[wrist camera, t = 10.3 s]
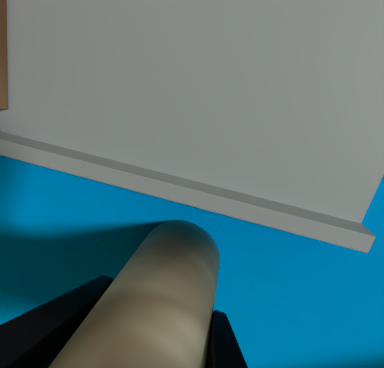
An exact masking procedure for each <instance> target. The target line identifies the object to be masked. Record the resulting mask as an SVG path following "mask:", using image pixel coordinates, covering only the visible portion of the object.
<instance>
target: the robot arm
mask: <svg viewBox="0 0 384 368" xmlns="http://www.w3.org/2000/svg"><path fill="white" fill-rule="evenodd" d="M113 281H114V280H113V278H110V277H107V276H100V277H98V278H96V279H94V280H92V281H90V282H88V283H86V284H84V285H82V286H80V287H78V288H76V289H74V290H71V291H69V292H67V293H65V294H63V295H61V296H59V297H57V298H55V299H53V300H51V301H49V302H47V303H45V304H43V305H41V306H39V307H37V308H34V309H32V310H30V311H28V312H26V313H24V314H22V315H20V316H18V317H16V318H14V319H12V320H10V321H8V322H6V323H4V324H2V325H0V368H48V367H49V366H50V365H51V363H52V362H53V361H54V359H55V358H56V357H57V355H58V354H59V353H60V351H61V350H62V349H63V347H64V346H65V345H66V343H67V342H68V341H69V339H70V338H71V337H72V335H73V334H74V333H75V331H76V330H77V329H78V327H79V326H80V325H81V323H82V322H83V321H84V319H85V318H86V317H87V315H88V314H89V313H90V311H91V310H92V309H93V307H94V306H95V305H96V303H97V302H98V301H99V299H100V298H101V297H102V295H103V294H104V293H105V291H106V290H107V289H108V287H109V286H110V285H111V283H112V282H113ZM206 368H248V367H247V364H246V362H245V359H244V357H243V354H242V352H241V350H240V347H239V345H238V342H237V340H236V337H235V335H234V332H233V330H232V327H231V325H230V323H229V320H228V318H227V315H226V314H225V313H223V312H220V311H217V310H214V311H213V314H212V322H211V329H210V337H209V344H208V353H207V361H206Z"/></svg>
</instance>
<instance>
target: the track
mask: <svg viewBox="0 0 384 368" xmlns="http://www.w3.org/2000/svg"><path fill="white" fill-rule="evenodd" d="M7 61H8V109H0V155H2V156H6V157H10V158H13V159H17V160H21V161H24V162H28V163H32V164H36V165H39V166H43V167H47V168H51V169H54V170H58V171H62V172H66V173H69V174H73V175H77V176H81V177H84V178H88V179H92V180H96V181H99V182H103V183H107V184H111V185H114V186H118V187H122V188H126V189H129V190H133V191H137V192H141V193H144V194H148V195H152V196H156V197H159V198H163V199H167V200H171V201H174V202H178V203H182V204H186V205H189V206H193V207H197V208H201V209H204V210H208V211H212V212H216V213H219V214H223V215H227V216H230V217H234V218H238V219H242V220H245V221H249V222H253V223H257V224H260V225H264V226H268V227H272V228H275V229H279V230H283V231H287V232H290V233H294V234H298V235H302V236H305V237H309V238H313V239H317V240H320V241H324V242H328V243H332V244H335V245H339V246H343V247H347V248H350V249H354V250H358V251H362V252H365V253H368V252H369V250H370V248H371V246H372V244H373V242H374V239H375V237H376V236H374V235H373V234H372V233H371V232H370V231H369V230H368V229H367V228H366V227H365V226H363V225H362V224H361V222H362V220H363V218H364V216H365V214H366V212H367V209H368V207H369V205H370V203H371V201H372V199H373V196H374V194H375V192H376V190H377V188H378V185H379V183H380V181H381V179H382V177H383V175H384V0H7Z"/></svg>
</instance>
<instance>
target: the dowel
mask: <svg viewBox="0 0 384 368" xmlns="http://www.w3.org/2000/svg"><path fill="white" fill-rule="evenodd" d="M219 260H220V258H219V252H218V248H217V246H216V244H215V242H214V240H213V239H212V237H211V236H210V235H209V234H208V233H207V232H206V231H205V230H203V229H202V228H201V227H199V226H197V225H195V224H193V223H190V222H186V221H179V220H174V221H167V222H164V223H162V224H159V225H158V226H156V227H155V228H154V229H152V230H151V231H150V233H149V234H148V235H147V237H146V238H145V239H144V241H143V242H142V243H141V245H140V246H139V247H138V249H137V250H136V251H135V253H134V254H133V255H132V257H131V258H130V259H129V261H128V262H127V263H126V265H125V266H124V267H123V269H122V270H121V271H120V273H119V274H118V275H117V277H116V278H115V279H114V281H113V282H112V283H111V285H110V286H109V287H108V289H107V290H106V291H105V293H104V294H103V295H102V297H101V298H100V299H99V301H98V302H97V303H96V305H95V306H94V307H93V309H92V310H91V311H90V313H89V314H88V315H87V317H86V318H85V319H84V321H83V322H82V323H81V325H80V326H79V327H78V329H77V330H76V331H75V333H74V334H73V335H72V337H71V338H70V339H69V341H68V342H67V343H66V345H65V346H64V347H63V349H62V350H61V351H60V353H59V354H58V355H57V357H56V358H55V359H54V361H53V362H52V363H51V365H50V366H49V367H48V368H206V361H207V353H208V344H209V337H210V329H211V322H212V314H213V308H214V300H215V292H216V285H217V277H218V269H219Z"/></svg>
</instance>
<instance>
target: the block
mask: <svg viewBox="0 0 384 368" xmlns="http://www.w3.org/2000/svg"><path fill="white" fill-rule="evenodd" d="M0 109H8V61H7V0H0Z"/></svg>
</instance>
